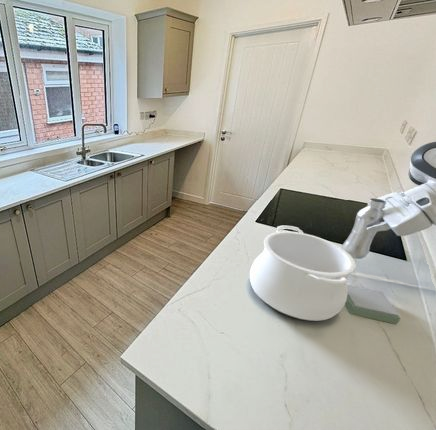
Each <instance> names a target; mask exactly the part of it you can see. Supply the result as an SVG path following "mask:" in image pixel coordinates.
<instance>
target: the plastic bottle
mask: <svg viewBox="0 0 436 430" xmlns="http://www.w3.org/2000/svg"><path fill="white" fill-rule="evenodd" d="M385 205H386V201H384V200H381V199H377V198H376V197H375V198H374V197H373V198H369V200H368V202H367V206H365V207H363V208H361V209H359V210H358V212H357V213H356V216H355V219H354V224H353V227H352V229H351V231H350V233H349V235H348V237H347V238H346V240H344V242H343V243H342V245H341V248H342V249H344V250H345V251H346V252H348V253H349V254H350V255H351V256H352V257H353V259H359V260H362V259H364V258H366V257H367V256H368V254H369V252H370V250H371V244H372V242H373V240H374V238H375V236H376V234H377V233H378V231H376V232H374V233H369V232H368V231H367V229H366V227H367V226H370V225H378V224H381V222H384V219H383V218H382V216H383V214H384V211H383V208H385Z"/></svg>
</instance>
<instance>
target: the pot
mask: <svg viewBox="0 0 436 430" xmlns="http://www.w3.org/2000/svg"><path fill="white" fill-rule="evenodd" d="M281 230H283V231H281ZM284 230H285V231H284ZM286 230H290V231H286ZM291 230H292V231H291ZM263 246H264V248H263V251H262V252H261V253H260V254H259V255H258V256H257V257H256V258H255V259H254V261H253V263H252V265H251V267H250V269H249V270H250V271H249V281H250V285H251V287H252V290H253V291H254V293H255V294H256V295H257V297H258V298H259V299H260V300H261V301H262V302H263V303H264V304H266V305H267V306H268V307H269V308H271V309H272V310H275V311H276V312H278V313H280V314H282V315H285V316H286V317H289V318H293V319H297V320H301V321H309V322H310V321H311V322H313V321H314V322H315V321H317V322H319V321H326V320H328V319H331V318H333V317H334V316H336V315H337V314H339V313H340V312H341V311H342V310H343V308H344V306H345V305H346V304H345V302H346V300H347V285H348V284H349V281H348V276H350V275H351V274H352V273H354V272H355V269H356V268H357V262H356V261H355V258H353V257H352V256H351V255H350V254H349V253H348V252H346V251H345V250H344V249H342V247H340V246H339V245H337V244H335V243H333V242H331V241H329V240H327V239H324V238H321V237H319V236H316V235H312V234H308V233H305V232H304V231H303V230H302V229H300V227H297V226H293V225H277V226H276V231H275V232H271V233H269V234H268V235H266V236H265V237H264V240H263Z"/></svg>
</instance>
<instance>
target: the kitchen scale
mask: <svg viewBox="0 0 436 430" xmlns="http://www.w3.org/2000/svg"><path fill="white" fill-rule="evenodd" d="M344 305H345V306H346V308H347V310H348V312H349V314H351V315H355V316H358V317H363V318H367V319H371V320H376V321H380V322H383V323H389V324H393V325H398V323H399V321H400V320H401V317H400V314H399V313H398V312H397V310H396V309H395V307H394V306H393V305H392V303H391V301H389V299H388V298H387V295H385V293H384V292H383V291H381V290H376V289H371V288H365V287H361V286H357V285H351V284H347V300H346V302H345V304H344Z"/></svg>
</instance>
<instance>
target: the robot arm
mask: <svg viewBox="0 0 436 430" xmlns="http://www.w3.org/2000/svg"><path fill="white" fill-rule="evenodd" d="M407 175H408V178H409V180H410V181H411V182H412V183H413V184H415V185H417V186H415V187H412V188H410V189H407V190H406V191H402V192H401V191H400V192H398V191H397V192H396V191H395V192H391V193H387V194H385V195H383V196H380V197H377V198H376V199H381V200H384V201H386V205H385V208H383V211H384V214H383V216H382V218H383V219H384V222H381V224H378V225H370V226H367V227H366V229H367V231H368V232H369V233H374V232H376V231H377V232H384V231H388V230H389V231H390V230H392V231H393V233H395V235H396V236H397V237H405V236H406V237H407V236H410V235H413V234H417V233H419V232H421V231H424V230H427V229H429V228H431V227H432V226H436V141H433V142H432V141H431V142H428V143H425V144H423V145H421V146H419V147H418V148H417V149H415V150H414V151H413V152H412V154H411V156H410V160H409V169H408V173H407ZM377 232H376V233H377Z"/></svg>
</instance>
